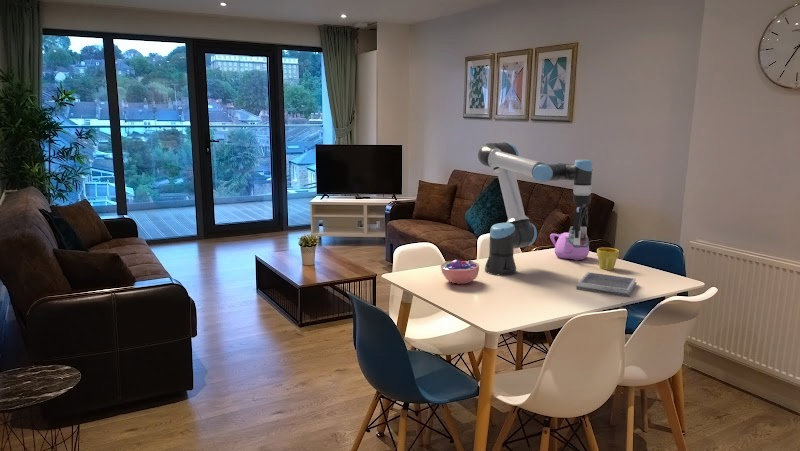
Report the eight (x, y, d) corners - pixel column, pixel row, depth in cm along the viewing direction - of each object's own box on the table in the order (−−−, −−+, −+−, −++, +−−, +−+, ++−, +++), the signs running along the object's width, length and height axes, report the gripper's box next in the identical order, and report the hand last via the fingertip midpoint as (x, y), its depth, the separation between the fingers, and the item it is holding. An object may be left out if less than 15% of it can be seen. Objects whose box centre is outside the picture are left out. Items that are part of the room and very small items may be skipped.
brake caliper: (595, 243, 249) (579, 221, 249) (574, 257, 252) (558, 235, 252) (593, 239, 259) (578, 218, 260) (573, 252, 263) (558, 231, 263)
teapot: (553, 251, 322) (554, 226, 320) (591, 256, 312) (593, 230, 309) (540, 259, 303) (542, 232, 301) (580, 265, 293) (583, 236, 290)
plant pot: (607, 272, 280) (609, 252, 278) (591, 267, 288) (592, 248, 287) (621, 269, 285) (623, 250, 283) (605, 265, 294) (606, 246, 292)
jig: (576, 289, 249) (576, 282, 249) (586, 277, 268) (587, 271, 268) (629, 297, 239) (629, 290, 238) (636, 284, 258) (636, 278, 257)
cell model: (487, 281, 259) (488, 257, 257) (461, 290, 244) (462, 265, 242) (457, 275, 270) (458, 251, 268) (431, 283, 255) (432, 258, 253)
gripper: (584, 197, 240) (582, 248, 244) (596, 192, 260) (594, 239, 263) (566, 196, 244) (564, 246, 247) (579, 191, 264) (577, 238, 267)
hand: (579, 242), depth 255 cm, fingers closed on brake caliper, 11 cm apart
